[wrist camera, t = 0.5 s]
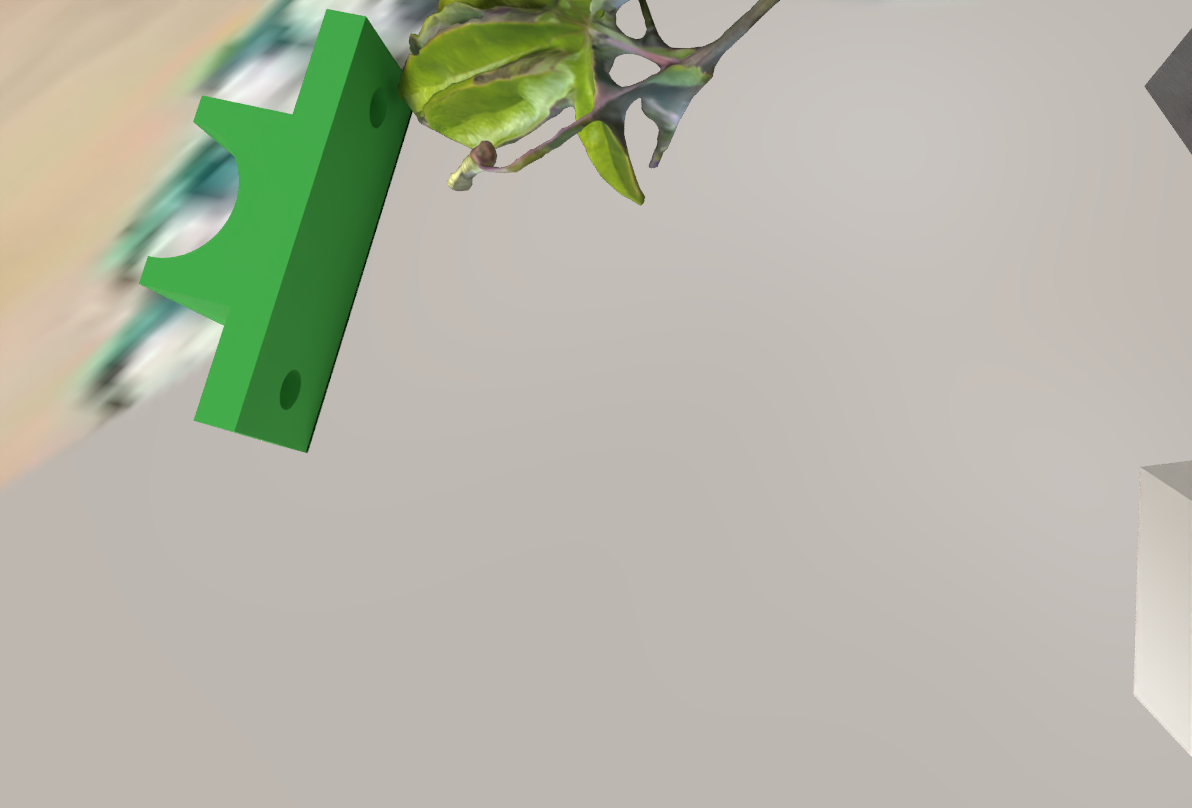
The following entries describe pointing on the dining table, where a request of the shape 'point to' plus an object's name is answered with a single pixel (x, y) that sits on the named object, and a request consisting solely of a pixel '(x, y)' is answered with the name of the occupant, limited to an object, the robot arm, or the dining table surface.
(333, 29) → the pipe clamp
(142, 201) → the dining table surface
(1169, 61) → the dark grey cube
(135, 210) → the dining table surface
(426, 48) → the passion flower
